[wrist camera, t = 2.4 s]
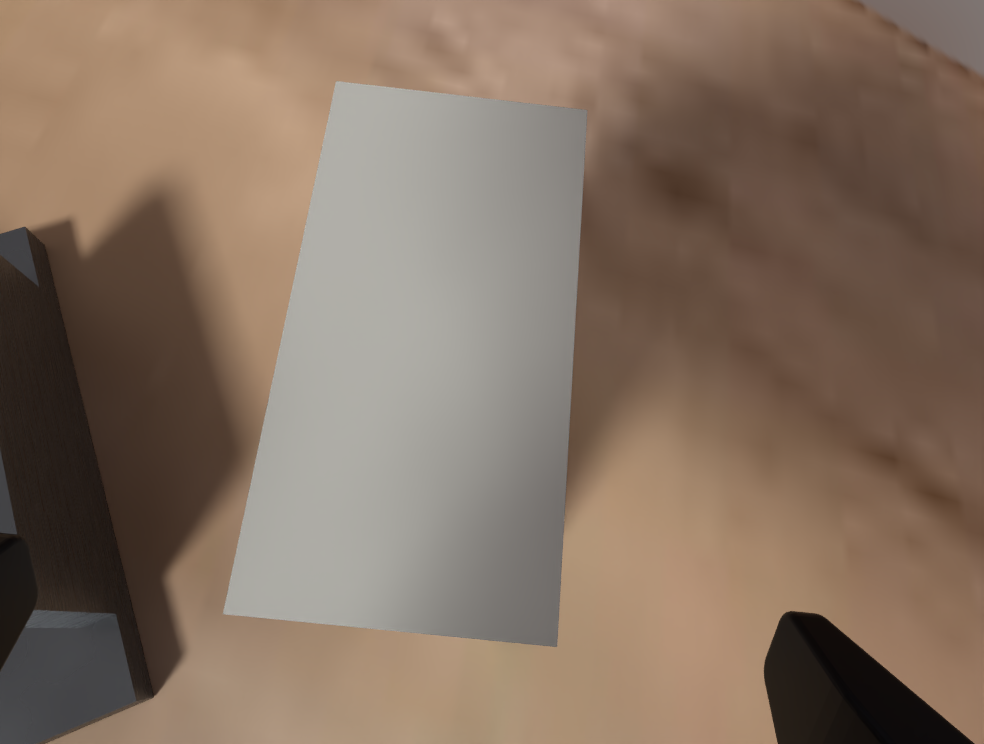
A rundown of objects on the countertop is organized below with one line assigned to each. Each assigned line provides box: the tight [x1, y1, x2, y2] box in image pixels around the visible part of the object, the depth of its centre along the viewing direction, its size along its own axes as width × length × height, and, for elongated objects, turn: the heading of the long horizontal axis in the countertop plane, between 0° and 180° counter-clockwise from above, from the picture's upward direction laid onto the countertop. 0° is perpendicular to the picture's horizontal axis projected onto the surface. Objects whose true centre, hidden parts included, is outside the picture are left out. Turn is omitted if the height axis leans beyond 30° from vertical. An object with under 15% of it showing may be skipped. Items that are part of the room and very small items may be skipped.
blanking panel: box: [223, 81, 587, 647], centre depth 13 cm, size 6×3×12 cm, turn 175°
